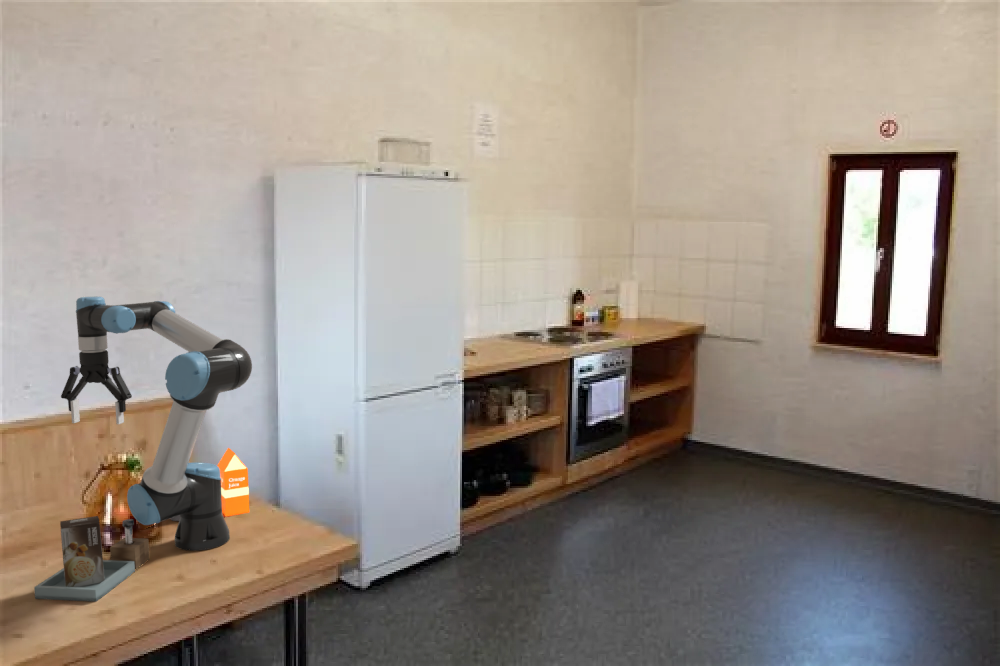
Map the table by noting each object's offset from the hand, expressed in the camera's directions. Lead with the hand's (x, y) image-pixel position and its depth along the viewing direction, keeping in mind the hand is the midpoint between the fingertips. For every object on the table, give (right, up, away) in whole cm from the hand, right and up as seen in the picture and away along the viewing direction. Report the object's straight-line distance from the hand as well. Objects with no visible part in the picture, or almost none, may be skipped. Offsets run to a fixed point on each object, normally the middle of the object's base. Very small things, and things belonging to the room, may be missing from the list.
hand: (98, 422), depth 247 cm
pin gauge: (+16, -37, -15) cm, 43 cm away
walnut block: (+16, -37, -15) cm, 43 cm away
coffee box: (+10, -38, -29) cm, 49 cm away
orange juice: (+31, -32, +28) cm, 52 cm away
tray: (+11, -39, -29) cm, 49 cm away
